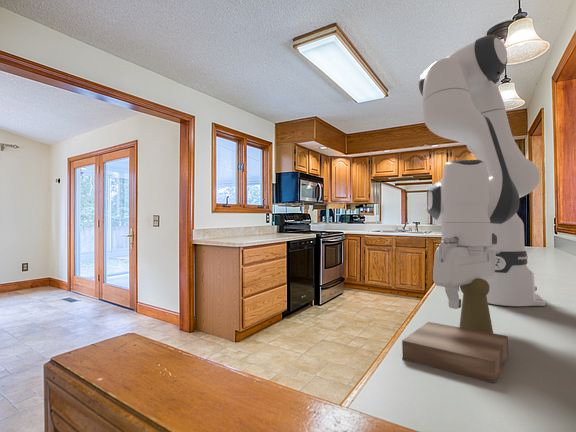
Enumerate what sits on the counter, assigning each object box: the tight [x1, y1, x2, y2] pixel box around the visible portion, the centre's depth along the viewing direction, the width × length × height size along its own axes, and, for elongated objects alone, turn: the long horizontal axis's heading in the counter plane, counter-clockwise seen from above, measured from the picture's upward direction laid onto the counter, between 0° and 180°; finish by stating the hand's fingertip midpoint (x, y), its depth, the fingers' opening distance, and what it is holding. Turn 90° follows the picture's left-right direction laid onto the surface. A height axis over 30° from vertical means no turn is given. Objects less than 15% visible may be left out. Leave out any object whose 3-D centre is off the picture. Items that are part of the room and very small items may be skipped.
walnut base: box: [401, 321, 509, 384], centre depth 54 cm, size 13×13×3 cm
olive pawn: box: [459, 278, 494, 333], centre depth 65 cm, size 6×6×11 cm
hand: (465, 304), depth 66 cm, fingers open, 8 cm apart
